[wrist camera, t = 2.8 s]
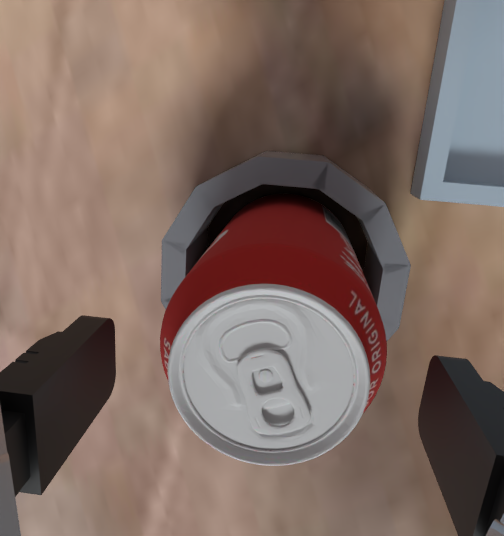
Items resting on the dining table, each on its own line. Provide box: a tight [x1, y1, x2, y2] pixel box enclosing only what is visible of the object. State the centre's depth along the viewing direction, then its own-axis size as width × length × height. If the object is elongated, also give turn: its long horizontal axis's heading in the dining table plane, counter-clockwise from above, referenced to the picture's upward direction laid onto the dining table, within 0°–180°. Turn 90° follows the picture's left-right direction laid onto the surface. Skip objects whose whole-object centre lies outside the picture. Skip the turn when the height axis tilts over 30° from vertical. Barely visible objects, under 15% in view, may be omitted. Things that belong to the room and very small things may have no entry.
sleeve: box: [161, 151, 411, 342], centre depth 20 cm, size 10×10×4 cm
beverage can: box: [160, 194, 387, 466], centre depth 17 cm, size 6×6×12 cm
